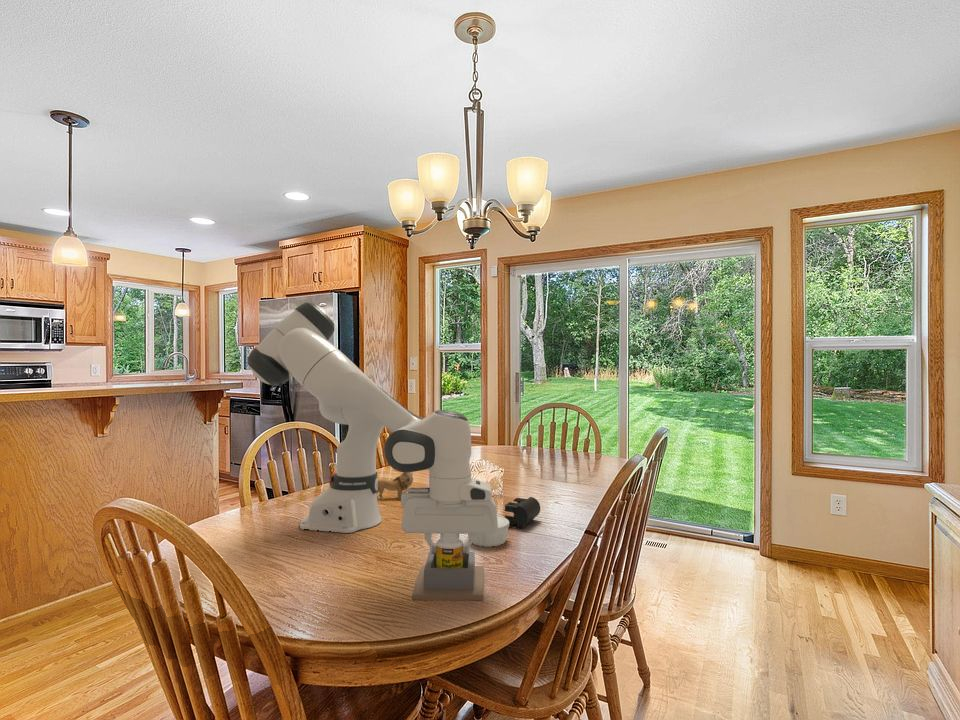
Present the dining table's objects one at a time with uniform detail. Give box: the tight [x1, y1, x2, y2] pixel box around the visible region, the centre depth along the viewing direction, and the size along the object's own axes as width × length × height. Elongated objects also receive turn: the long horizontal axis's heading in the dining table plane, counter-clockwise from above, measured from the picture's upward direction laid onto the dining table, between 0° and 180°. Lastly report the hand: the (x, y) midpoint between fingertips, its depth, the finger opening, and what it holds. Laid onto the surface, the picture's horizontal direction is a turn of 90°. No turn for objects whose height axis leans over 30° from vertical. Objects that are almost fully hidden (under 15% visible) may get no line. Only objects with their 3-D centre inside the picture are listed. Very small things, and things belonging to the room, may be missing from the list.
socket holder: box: [411, 551, 485, 601], centre depth 109 cm, size 14×14×5 cm
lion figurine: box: [377, 472, 414, 501], centre depth 175 cm, size 15×5×9 cm, turn 104°
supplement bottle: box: [436, 533, 464, 568], centre depth 109 cm, size 6×6×10 cm
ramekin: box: [472, 515, 510, 548], centre depth 135 cm, size 11×11×5 cm
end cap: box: [504, 496, 541, 529], centre depth 149 cm, size 10×7×7 cm
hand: (450, 553), depth 109 cm, fingers closed on supplement bottle, 5 cm apart
